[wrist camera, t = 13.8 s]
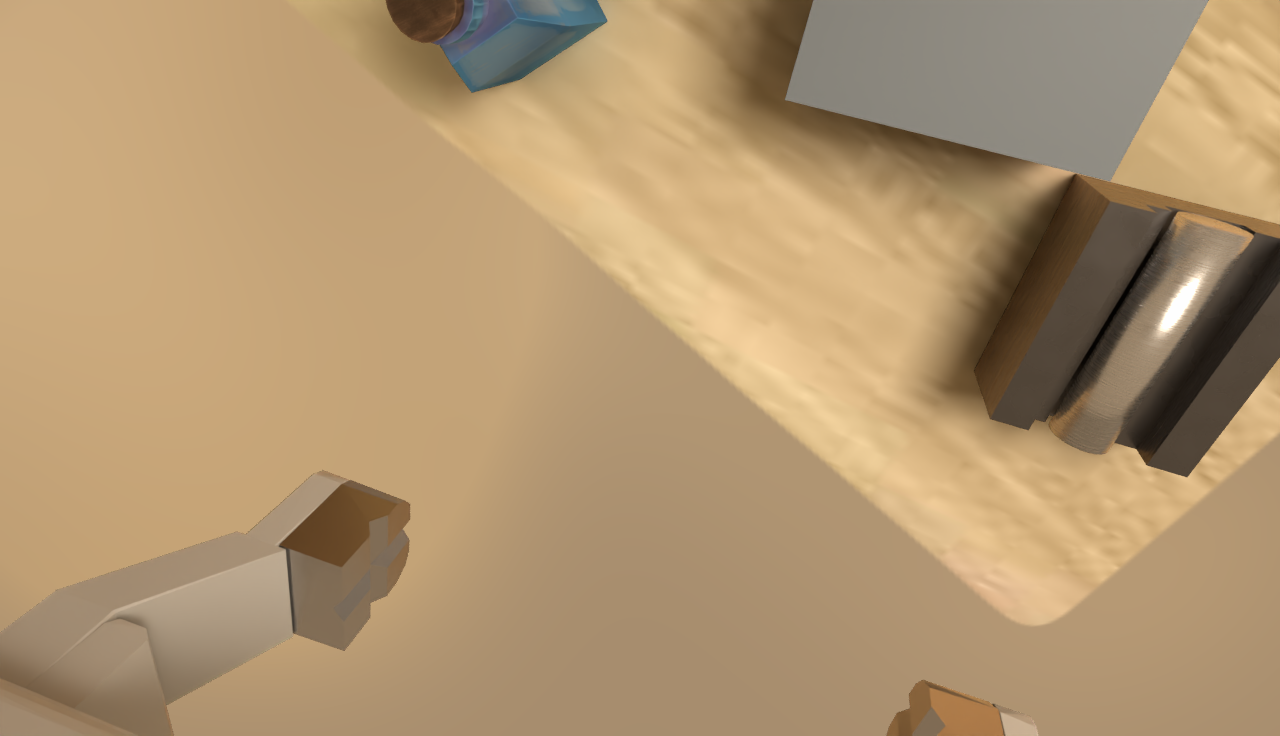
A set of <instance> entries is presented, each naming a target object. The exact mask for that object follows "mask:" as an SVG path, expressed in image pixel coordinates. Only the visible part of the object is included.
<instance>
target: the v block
mask: <svg viewBox="0 0 1280 736" xmlns="http://www.w3.org/2000/svg"><path fill="white" fill-rule="evenodd" d="M1177 212H1189V213H1194V214H1198V215H1202V216H1206V217H1209V218H1213V219H1216V220H1219V221H1222V222H1225V223H1228V224H1231V225H1233V226H1236V227H1238V228H1241V229H1243V230H1245V231H1247V232H1249V233H1251V234H1252V235H1253V236H1254V237H1253V239H1252V240H1251V242H1250V243H1249V245H1248V246H1247V248H1246V249H1245V251H1244V252H1243V254H1242V255H1241V256H1240V258H1239V259H1238V261H1237V262H1236V264H1235V265H1234V267H1233V268H1232V270H1231V271H1230V273H1229V274H1228V276H1227V277H1226V279H1225V280H1224V282H1223V283H1222V284H1221V286H1220V287H1219V289H1218V290H1217V292H1216V293H1215V295H1214V296H1213V298H1212V299H1211V301H1210V302H1209V304H1208V305H1207V307H1206V308H1205V309H1204V311H1203V312H1202V314H1201V315H1200V317H1199V318H1198V320H1197V321H1196V323H1195V324H1194V326H1193V327H1192V329H1191V330H1190V332H1189V333H1188V334H1187V336H1186V337H1185V339H1184V340H1183V342H1182V343H1181V345H1180V346H1179V348H1178V349H1177V351H1176V352H1175V354H1174V355H1173V357H1172V358H1171V360H1170V361H1169V362H1168V364H1167V365H1166V367H1165V368H1164V370H1163V371H1162V373H1161V374H1160V376H1159V377H1158V379H1157V380H1156V382H1155V383H1154V385H1153V386H1152V387H1151V389H1150V390H1149V392H1148V393H1147V395H1146V396H1145V398H1144V399H1143V401H1142V402H1141V404H1140V405H1139V407H1138V408H1137V410H1136V411H1135V412H1134V414H1133V415H1132V417H1131V418H1130V420H1129V421H1128V423H1127V424H1126V426H1125V427H1124V429H1123V430H1122V432H1121V433H1120V435H1119V436H1118V438H1117V439H1116V440H1115V442H1114V443H1118V444H1121V445H1124V446H1128V447H1131V448H1135V449H1137V451H1138V452H1139V454H1140V455H1141V457H1142V459H1143V460H1144V462H1145V463H1146V465H1148V466H1151V467H1154V468H1158V469H1161V470H1164V471H1168V472H1171V473H1175V474H1178V475H1181V476H1185V477H1188V475H1189V474H1190V473H1191V472H1192V470H1193V469H1194V468H1195V466H1196V465H1197V464H1198V463H1199V461H1200V460H1201V459H1202V457H1203V456H1204V455H1205V453H1206V452H1207V451H1208V450H1209V448H1210V447H1211V446H1212V444H1213V443H1214V442H1215V441H1216V439H1217V438H1218V437H1219V435H1220V434H1221V433H1222V431H1223V430H1224V429H1225V428H1226V426H1227V425H1228V424H1229V422H1230V421H1231V420H1232V418H1233V417H1234V416H1235V415H1236V413H1237V412H1238V411H1239V409H1240V408H1241V407H1242V406H1243V404H1244V403H1245V402H1246V400H1247V399H1248V398H1249V396H1250V395H1251V394H1252V393H1253V391H1254V390H1255V389H1256V387H1257V386H1258V385H1259V384H1260V382H1261V381H1262V380H1263V378H1264V377H1265V376H1266V374H1267V373H1268V372H1269V371H1270V369H1271V368H1272V367H1273V365H1274V364H1275V363H1276V361H1277V360H1278V359H1279V358H1280V225H1279V224H1275V223H1271V222H1267V221H1263V220H1259V219H1255V218H1251V217H1247V216H1243V215H1239V214H1235V213H1231V212H1227V211H1223V210H1219V209H1215V208H1211V207H1207V206H1203V205H1199V204H1195V203H1191V202H1187V201H1183V200H1179V199H1175V198H1171V197H1167V196H1163V195H1159V194H1155V193H1151V192H1147V191H1143V190H1139V189H1135V188H1131V187H1127V186H1123V185H1119V184H1115V183H1111V182H1107V181H1103V180H1099V179H1095V178H1091V177H1087V176H1083V175H1079V174H1076V175H1075V176H1074V178H1073V180H1072V182H1071V184H1070V186H1069V188H1068V190H1067V192H1066V194H1065V196H1064V198H1063V200H1062V202H1061V204H1060V205H1059V207H1058V209H1057V211H1056V213H1055V215H1054V217H1053V219H1052V221H1051V223H1050V225H1049V227H1048V229H1047V231H1046V233H1045V234H1044V236H1043V238H1042V240H1041V242H1040V244H1039V246H1038V248H1037V250H1036V252H1035V254H1034V256H1033V258H1032V260H1031V262H1030V263H1029V265H1028V267H1027V269H1026V271H1025V273H1024V275H1023V277H1022V279H1021V281H1020V283H1019V285H1018V287H1017V289H1016V291H1015V292H1014V294H1013V296H1012V298H1011V300H1010V302H1009V304H1008V306H1007V308H1006V310H1005V312H1004V314H1003V316H1002V318H1001V320H1000V321H999V323H998V325H997V327H996V329H995V331H994V333H993V335H992V337H991V339H990V341H989V343H988V345H987V347H986V349H985V350H984V352H983V354H982V356H981V358H980V360H979V362H978V364H977V366H976V368H975V370H974V372H975V375H976V378H977V381H978V384H979V387H980V390H981V393H982V396H983V399H984V402H985V405H986V408H987V411H988V414H989V417H990V419H992V420H996V421H999V422H1003V423H1006V424H1009V425H1013V426H1016V427H1019V428H1023V429H1026V430H1029V428H1030V427H1031V425H1032V423H1033V422H1034V420H1035V419H1036V420H1039V421H1043V422H1045V421H1046V419H1047V418H1048V416H1049V415H1050V416H1054V414H1055V413H1056V411H1057V409H1058V408H1059V406H1060V404H1061V403H1062V401H1063V400H1064V398H1065V396H1066V395H1067V393H1068V391H1069V390H1070V388H1071V386H1072V385H1073V383H1074V381H1075V380H1076V378H1077V377H1078V375H1079V373H1080V372H1081V370H1082V368H1083V367H1084V365H1085V363H1086V362H1087V360H1088V358H1089V357H1090V355H1091V354H1092V352H1093V350H1094V349H1095V347H1096V345H1097V344H1098V342H1099V340H1100V339H1101V337H1102V335H1103V334H1104V332H1105V331H1106V329H1107V327H1108V326H1109V324H1110V322H1111V321H1112V319H1113V317H1114V316H1115V314H1116V312H1117V311H1118V309H1119V308H1120V306H1121V304H1122V303H1123V301H1124V299H1125V298H1126V296H1127V294H1128V293H1129V291H1130V289H1131V288H1132V286H1133V285H1134V283H1135V281H1136V280H1137V278H1138V276H1139V275H1140V273H1141V271H1142V270H1143V268H1144V266H1145V265H1146V263H1147V262H1148V260H1149V258H1150V257H1151V255H1152V253H1153V252H1154V250H1155V248H1156V247H1157V245H1158V243H1159V242H1160V240H1161V239H1162V237H1163V235H1164V234H1165V232H1166V230H1167V229H1168V227H1169V225H1170V224H1171V222H1172V221H1173V219H1174V217H1175V216H1176V214H1177Z"/></svg>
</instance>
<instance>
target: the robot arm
mask: <svg viewBox="0 0 1280 736" xmlns="http://www.w3.org/2000/svg"><path fill="white" fill-rule="evenodd" d="M409 520H410V504H409V503H408V502H406V501H404V500H402V499H399V498H397V497H394V496H391V495H389V494H386V493H383V492H381V491H378V490H375V489H373V488H370V487H367V486H365V485H362V484H360V483H357V482H354V481H352V480H348V479H345V478H342V477H340V476H337V475H334V474H332V473H329V472H326V471H320V472H318V473H315V474H313V475H311V476H310V477H309V478H308V479H307V480H306V481H305V482H304V483H302V484H301V485H300V486H299V487H298V488H297V489H296V490H294V491H293V492H292V493H291V494H290V495H289V496H288V497H287V498H286V499H284V500H283V501H282V502H281V503H280V504H279V505H278V506H277V507H276V508H275V509H273V510H272V511H271V512H270V513H269V514H268V515H267V516H265V517H264V518H263V519H262V520H261V521H260V522H259V523H258V524H257V525H256V526H254V527H253V528H252V529H251V530H250V531H249V532H248V533H247V534H242V533H240V532H234V533H231V534H228V535H225V536H222V537H219V538H216V539H212V540H209V541H206V542H203V543H200V544H197V545H194V546H191V547H188V548H185V549H182V550H179V551H175V552H172V553H169V554H166V555H163V556H160V557H157V558H154V559H151V560H148V561H144V562H141V563H138V564H135V565H132V566H129V567H126V568H123V569H120V570H117V571H113V572H111V573H107V574H104V575H101V576H98V577H95V578H92V579H89V580H86V581H82V582H79V583H77V584H73V585H70V586H67V587H64V588H61V589H58V590H56V591H55V592H53V593H52V594H50V595H49V596H48V597H46V598H45V599H44V600H42V601H41V602H40V603H38V604H37V605H36V606H35V607H33V608H32V609H31V610H29V611H28V612H27V613H25V614H24V615H23V616H21V617H20V618H19V619H17V620H16V621H15V622H13V623H12V624H11V625H9V626H8V627H7V628H6V629H4V630H3V631H1V632H0V736H174V734H173V730H172V726H171V722H170V718H169V714H168V710H167V707H166V705H168V704H170V703H172V702H174V701H175V700H177V699H179V698H181V697H183V696H185V695H186V694H188V693H190V692H192V691H194V690H196V689H198V688H199V687H201V686H203V685H205V684H206V683H209V682H210V681H212V680H214V679H216V678H218V677H220V676H222V675H223V674H225V673H227V672H229V671H231V670H233V669H235V668H236V667H238V666H240V665H242V664H243V663H246V662H247V661H249V660H251V659H253V658H255V657H257V656H258V655H260V654H262V653H264V652H266V651H268V650H270V649H271V648H273V647H275V646H277V645H279V644H281V643H283V642H284V641H286V640H288V639H290V638H292V637H293V633H294V634H297V635H300V636H303V637H306V638H309V639H311V640H314V641H317V642H320V643H323V644H326V645H329V646H332V647H334V648H337V649H340V650H343V651H345V649H346V648H347V647H348V646H349V644H350V643H351V642H352V641H353V639H354V638H355V637H356V635H357V634H358V633H359V631H360V630H361V629H362V627H363V626H364V625H365V624H366V622H367V621H368V620H369V618H370V603H371V602H374V601H376V600H378V599H380V598H383V597H385V596H387V595H388V593H389V592H390V591H391V589H392V588H393V586H394V585H395V584H396V582H397V581H398V579H399V576H400V575H401V572H402V570H403V568H404V566H405V564H406V560H407V556H408V552H409V538H408V537H407V535H406V534H405V532H404V530H403V527H404V526H405V525H406V524H407V523H408V521H409ZM909 702H910V709H907V710H904V711H901V712H898V713H897V714H896V716H895V717H894V719H893V721H892V723H891V724H890V726H889V728H888V732H887V736H1039V735H1038V731H1037V728H1036V724H1035V722H1034V721H1033V720H1032V718H1031V717H1030V716H1028V715H1025V714H1022V713H1019V712H1016V711H1013V710H1011V709H1008V708H1005V707H1002V706H999V705H996V704H991V703H990V702H988V701H985V700H982V699H979V698H976V697H973V696H970V695H967V694H964V693H961V692H958V691H955V690H952V689H949V688H946V687H943V686H940V685H937V684H934V683H931V682H928V681H925V680H921V681H920V682H918V683H916V684H915V686H914V687H913V689H912V690H911V692H910V693H909Z"/></svg>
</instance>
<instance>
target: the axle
mask: <svg viewBox="0 0 1280 736" xmlns="http://www.w3.org/2000/svg"><path fill="white" fill-rule="evenodd" d="M1253 237H1254V236H1253V235H1252V234H1251V233H1249V232H1247V231H1245V230H1243V229H1241V228H1238V227H1236V226H1233V225H1231V224H1228V223H1225V222H1222V221H1219V220H1216V219H1213V218H1209V217H1206V216H1202V215H1198V214H1194V213H1189V212H1177V214H1176V216H1175V217H1174V219H1173V221H1172V222H1171V224H1170V225H1169V227H1168V229H1167V230H1166V232H1165V234H1164V235H1163V237H1162V239H1161V240H1160V242H1159V243H1158V245H1157V247H1156V248H1155V250H1154V252H1153V253H1152V255H1151V257H1150V258H1149V260H1148V262H1147V263H1146V265H1145V266H1144V268H1143V270H1142V271H1141V273H1140V275H1139V276H1138V278H1137V280H1136V281H1135V283H1134V285H1133V286H1132V288H1131V289H1130V291H1129V293H1128V294H1127V296H1126V298H1125V299H1124V301H1123V303H1122V304H1121V306H1120V308H1119V309H1118V311H1117V312H1116V314H1115V316H1114V317H1113V319H1112V321H1111V322H1110V324H1109V326H1108V327H1107V329H1106V331H1105V332H1104V334H1103V335H1102V337H1101V339H1100V340H1099V342H1098V344H1097V345H1096V347H1095V349H1094V350H1093V352H1092V354H1091V355H1090V357H1089V358H1088V360H1087V362H1086V363H1085V365H1084V367H1083V368H1082V370H1081V372H1080V373H1079V375H1078V377H1077V378H1076V380H1075V381H1074V383H1073V385H1072V386H1071V388H1070V390H1069V391H1068V393H1067V395H1066V396H1065V398H1064V400H1063V401H1062V403H1061V404H1060V406H1059V408H1058V409H1057V411H1056V413H1055V414H1054V416H1053V418H1052V419H1051V421H1050V423H1049V427H1050V429H1051V431H1052V432H1053V433H1054V434H1055V435H1056V436H1057V437H1058V438H1060V439H1061V440H1062V441H1064V442H1065V443H1067V444H1069V445H1071V446H1073V447H1075V448H1077V449H1079V450H1082V451H1085V452H1088V453H1092V454H1105V453H1107V452H1108V451H1109V449H1110V448H1111V446H1112V445H1113V443H1114V442H1115V440H1116V439H1117V438H1118V436H1119V435H1120V433H1121V432H1122V430H1123V429H1124V427H1125V426H1126V424H1127V423H1128V421H1129V420H1130V418H1131V417H1132V415H1133V414H1134V412H1135V411H1136V410H1137V408H1138V407H1139V405H1140V404H1141V402H1142V401H1143V399H1144V398H1145V396H1146V395H1147V393H1148V392H1149V390H1150V389H1151V387H1152V386H1153V385H1154V383H1155V382H1156V380H1157V379H1158V377H1159V376H1160V374H1161V373H1162V371H1163V370H1164V368H1165V367H1166V365H1167V364H1168V362H1169V361H1170V360H1171V358H1172V357H1173V355H1174V354H1175V352H1176V351H1177V349H1178V348H1179V346H1180V345H1181V343H1182V342H1183V340H1184V339H1185V337H1186V336H1187V334H1188V333H1189V332H1190V330H1191V329H1192V327H1193V326H1194V324H1195V323H1196V321H1197V320H1198V318H1199V317H1200V315H1201V314H1202V312H1203V311H1204V309H1205V308H1206V307H1207V305H1208V304H1209V302H1210V301H1211V299H1212V298H1213V296H1214V295H1215V293H1216V292H1217V290H1218V289H1219V287H1220V286H1221V284H1222V283H1223V282H1224V280H1225V279H1226V277H1227V276H1228V274H1229V273H1230V271H1231V270H1232V268H1233V267H1234V265H1235V264H1236V262H1237V261H1238V259H1239V258H1240V256H1241V255H1242V254H1243V252H1244V251H1245V249H1246V248H1247V246H1248V245H1249V243H1250V242H1251V240H1252V239H1253Z"/></svg>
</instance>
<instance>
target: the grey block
mask: <svg viewBox="0 0 1280 736" xmlns="http://www.w3.org/2000/svg"><path fill="white" fill-rule="evenodd" d="M1208 1H1209V0H813V3H812V7H811V10H810V14H809V17H808V21H807V24H806V28H805V31H804V35H803V38H802V42H801V45H800V49H799V52H798V56H797V59H796V63H795V66H794V70H793V73H792V77H791V80H790V84H789V87H788V91H787V94H786V98H785V100H787V101H791V102H795V103H799V104H803V105H807V106H811V107H815V108H819V109H823V110H827V111H831V112H835V113H839V114H843V115H847V116H851V117H855V118H859V119H863V120H867V121H871V122H875V123H879V124H883V125H887V126H891V127H895V128H899V129H903V130H907V131H911V132H915V133H919V134H923V135H927V136H931V137H935V138H939V139H943V140H947V141H951V142H955V143H959V144H963V145H967V146H971V147H975V148H979V149H983V150H987V151H991V152H995V153H999V154H1003V155H1007V156H1011V157H1015V158H1019V159H1023V160H1027V161H1031V162H1035V163H1039V164H1043V165H1047V166H1051V167H1055V168H1059V169H1063V170H1067V171H1071V172H1075V173H1079V174H1083V175H1087V176H1091V177H1095V178H1099V179H1103V180H1107V181H1110V180H1111V179H1112V177H1113V175H1114V173H1115V171H1116V169H1117V168H1118V166H1119V164H1120V162H1121V160H1122V158H1123V157H1124V155H1125V153H1126V151H1127V149H1128V147H1129V146H1130V144H1131V142H1132V140H1133V138H1134V136H1135V135H1136V133H1137V131H1138V129H1139V127H1140V125H1141V124H1142V122H1143V120H1144V118H1145V116H1146V114H1147V113H1148V111H1149V109H1150V107H1151V105H1152V103H1153V102H1154V100H1155V98H1156V96H1157V94H1158V92H1159V91H1160V89H1161V87H1162V85H1163V83H1164V81H1165V80H1166V78H1167V76H1168V74H1169V72H1170V70H1171V69H1172V67H1173V65H1174V63H1175V61H1176V59H1177V58H1178V56H1179V54H1180V52H1181V50H1182V48H1183V47H1184V45H1185V43H1186V41H1187V39H1188V37H1189V36H1190V34H1191V32H1192V30H1193V28H1194V26H1195V25H1196V23H1197V21H1198V19H1199V17H1200V15H1201V14H1202V12H1203V10H1204V8H1205V6H1206V4H1207V3H1208Z"/></svg>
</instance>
